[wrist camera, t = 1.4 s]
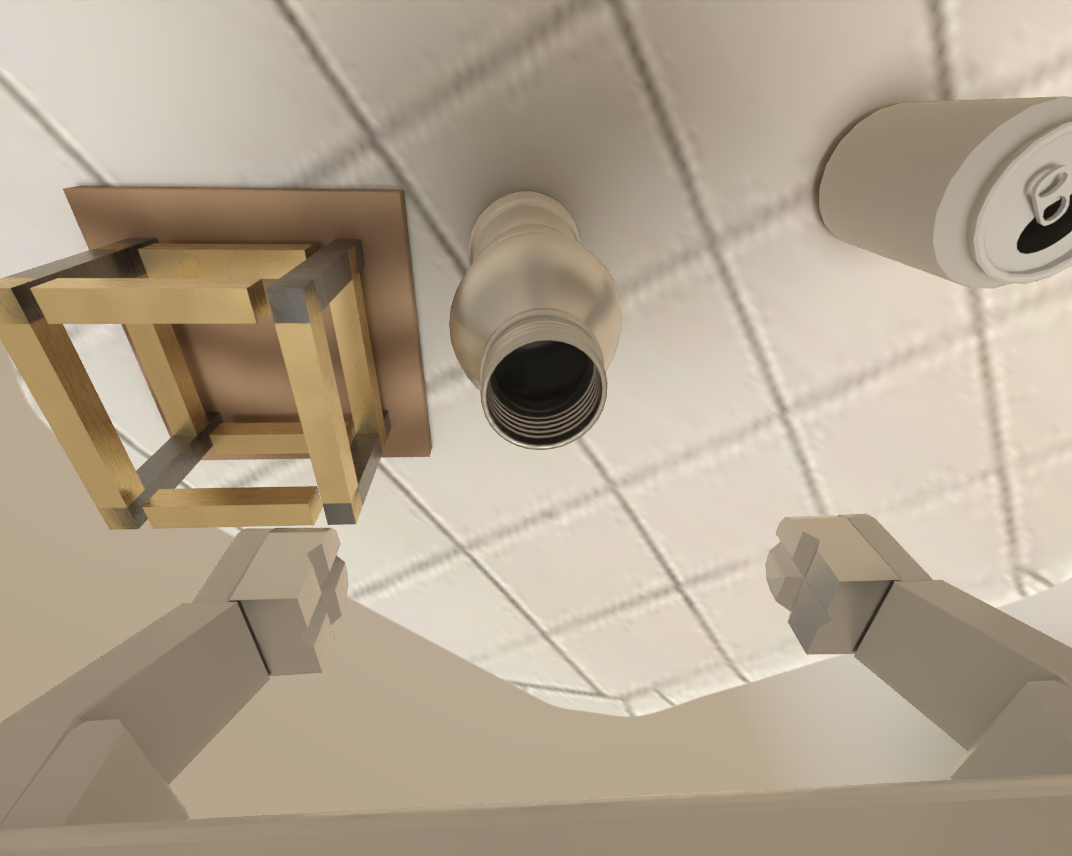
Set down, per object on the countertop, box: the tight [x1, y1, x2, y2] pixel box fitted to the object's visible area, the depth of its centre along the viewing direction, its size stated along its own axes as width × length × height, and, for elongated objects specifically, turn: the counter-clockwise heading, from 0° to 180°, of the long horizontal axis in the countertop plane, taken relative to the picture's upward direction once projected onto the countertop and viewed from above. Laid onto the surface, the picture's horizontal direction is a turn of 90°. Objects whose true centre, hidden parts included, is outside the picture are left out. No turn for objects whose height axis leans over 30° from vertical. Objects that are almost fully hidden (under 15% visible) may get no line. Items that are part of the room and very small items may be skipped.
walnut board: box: [63, 186, 432, 460], centre depth 33 cm, size 18×18×1 cm
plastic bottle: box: [449, 191, 622, 450], centre depth 23 cm, size 6×7×20 cm
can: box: [819, 97, 1072, 288], centre depth 25 cm, size 8×8×12 cm
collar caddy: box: [0, 238, 391, 529], centre depth 28 cm, size 13×13×10 cm
